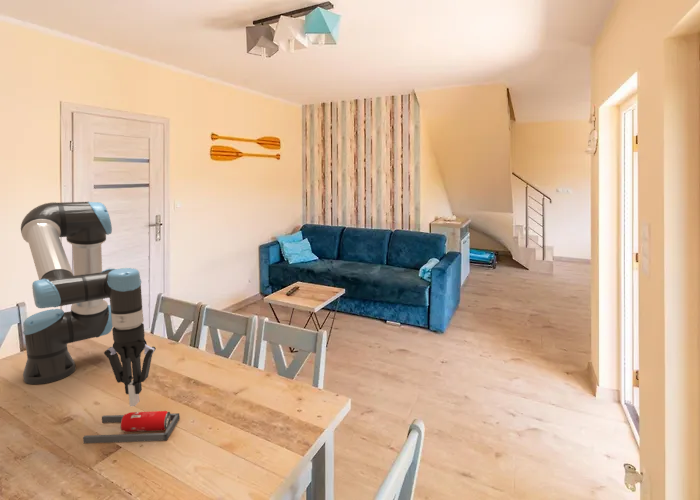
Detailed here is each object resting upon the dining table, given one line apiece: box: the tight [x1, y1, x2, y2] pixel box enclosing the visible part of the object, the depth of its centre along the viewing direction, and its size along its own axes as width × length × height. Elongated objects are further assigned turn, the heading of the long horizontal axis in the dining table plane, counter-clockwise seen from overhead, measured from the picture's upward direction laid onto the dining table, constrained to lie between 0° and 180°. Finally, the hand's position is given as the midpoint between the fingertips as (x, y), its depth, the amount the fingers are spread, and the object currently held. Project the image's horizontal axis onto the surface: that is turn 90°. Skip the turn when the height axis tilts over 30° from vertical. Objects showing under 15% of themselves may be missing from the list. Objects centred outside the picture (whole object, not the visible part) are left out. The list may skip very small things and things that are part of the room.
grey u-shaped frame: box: [82, 413, 180, 444], centre depth 110 cm, size 22×10×2 cm, turn 95°
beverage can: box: [120, 410, 172, 433], centre depth 111 cm, size 5×5×12 cm
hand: (134, 403), depth 109 cm, fingers closed
